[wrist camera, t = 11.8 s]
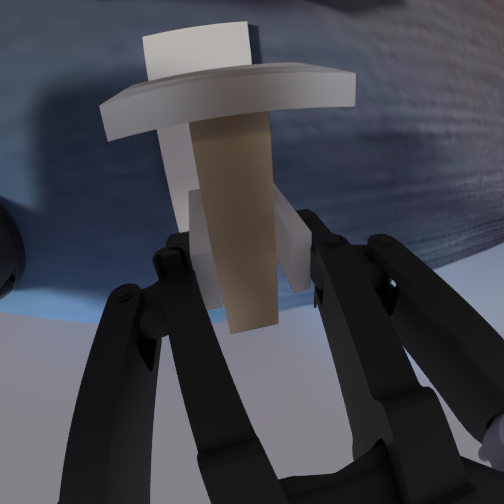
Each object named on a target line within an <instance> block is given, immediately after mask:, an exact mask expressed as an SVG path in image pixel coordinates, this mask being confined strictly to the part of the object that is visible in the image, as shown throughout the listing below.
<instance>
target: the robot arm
mask: <svg viewBox="0 0 504 504" xmlns="http://www.w3.org/2000/svg"><path fill="white" fill-rule="evenodd" d="M273 187H274V222H275V246H276V256H277V258H278V261H279V263H280V265H281V267H282V269H283V271H284V273H285V275H286V277H287V279H288V282H289V284H290V286H291V288H292V290H293V292H297V291H302V290H306V289H310V288H311V279H312V281H313V282H314V284H315V291H314V308H316V307H317V305H318V308H319V311H320V315H321V318H322V322H323V325H324V328H325V332H326V335H327V339H328V343H329V346H330V349H331V353H332V357H333V360H334V364H335V368H336V372H337V375H338V379H339V383H340V387H341V391H342V395H343V399H344V402H345V406H346V411H347V415H348V419H349V423H350V427H351V431H352V436H353V446H352V451H353V459H354V461H353V462H352V463H351V464H349V465H347V466H346V467H344V468H343V469H341V470H340V471H338V472H336V473H332V474H322V475H309V476H291V477H287V478H283V479H279V480H278V478H277V476H276V474H275V472H274V470H273V468H272V466H271V464H270V461H269V459H268V457H267V455H266V453H265V450H264V448H263V446H262V444H261V442H260V440H259V438H258V437H257V436H256V434H255V432H254V429H253V427H252V425H251V422H250V420H249V418H248V415H247V413H246V411H245V408H244V406H243V403H242V401H241V399H240V396H239V394H238V391H237V389H236V386H235V384H234V382H233V379H232V376H231V374H230V371H229V369H228V367H227V364H226V361H225V359H224V356H223V353H222V351H221V348H220V346H219V343H218V340H217V338H216V335H215V332H214V330H213V326H212V324H211V321H210V318H209V315H208V313H207V310H211V309H216V308H221V307H223V305H222V300H221V294H220V288H219V283H218V277H217V271H216V265H215V261H214V256H213V251H212V246H211V241H210V236H209V231H208V226H207V221H206V217H205V212H204V207H203V202H202V196H201V191H200V189H195V190H190V191H188V198H189V231H187V232H181V233H176V234H171V236H170V237H169V238H168V240H167V241H166V247H164V248H162V249H160V250H159V251H157V252H156V253H155V254H154V256H153V263H154V266H155V269H156V272H157V275H158V278H159V281H158V282H156V283H155V284H153V285H151V286H149V287H147V288H145V289H142V290H141V289H140V287H139V286H138V285H136V284H124V285H121V286H119V287H117V288H116V289H115V290H113V291H112V292H111V294H110V295H109V297H108V300H107V303H106V306H105V308H104V311H103V314H102V317H101V320H100V323H99V326H98V329H97V332H96V335H95V338H94V341H93V344H92V347H91V350H90V354H89V357H88V361H87V364H86V368H85V371H84V375H83V378H82V381H81V385H80V389H79V393H78V397H77V401H76V405H75V409H74V414H73V418H72V423H71V427H70V432H69V437H68V442H67V448H66V453H65V459H64V466H63V472H62V480H61V488H60V497H59V501H58V503H57V504H150V477H151V476H150V475H151V451H152V433H153V420H154V408H155V397H156V386H157V377H158V368H159V359H160V350H161V343H162V339H161V338H162V337H164V336H167V335H169V339H170V344H171V348H172V353H173V358H174V362H175V367H176V371H177V375H178V380H179V384H180V388H181V392H182V396H183V399H184V404H185V407H186V411H187V414H188V418H189V422H190V425H191V429H192V432H193V436H194V439H195V443H196V446H197V450H198V455H197V461H198V466H199V469H200V472H201V475H202V478H203V481H204V484H205V487H206V490H207V493H208V496H209V498H210V501H211V504H504V340H503V338H502V337H501V336H500V335H499V334H498V333H497V332H496V331H495V330H494V329H493V328H492V326H491V325H490V324H489V323H488V322H486V320H485V319H484V318H483V317H482V316H481V315H480V314H479V313H478V312H477V311H476V310H475V309H474V308H473V307H472V306H471V305H469V303H468V302H466V301H465V300H464V299H463V298H462V297H461V296H460V295H459V294H458V293H457V292H456V291H455V290H454V289H453V288H452V287H450V286H449V285H448V284H447V283H446V282H445V281H444V280H443V279H442V278H441V277H439V276H438V275H437V274H436V273H435V272H434V271H433V270H432V269H431V268H429V267H428V266H427V265H426V264H425V263H424V262H422V261H421V260H420V259H419V258H418V257H417V256H415V255H414V254H413V253H412V252H411V251H409V250H408V249H407V248H406V247H405V246H403V245H402V244H401V243H400V242H399V241H397V240H396V239H395V238H393V237H391V236H388V235H386V234H375V235H372V236H370V237H369V238H368V242H367V245H351V244H350V243H349V242H348V240H347V239H346V238H345V237H343V236H341V235H336V234H332V233H331V231H330V230H329V229H328V228H327V227H326V226H325V224H324V223H323V222H322V221H321V220H320V219H319V217H318V216H317V215H316V214H315V213H314V212H312V211H310V210H308V209H304V210H298V211H295V210H294V209H293V207H292V206H291V205H290V203H289V202H288V201H287V199H286V198H285V197H284V196H283V194H282V193H281V192H280V190H279V189H278V188H277V187H276V185H275V184H274V183H273ZM24 266H25V253H24V247H23V243H22V240H21V237H20V234H19V232H18V230H17V228H16V226H15V224H14V222H13V221H12V219H11V218H10V216H9V215H8V213H7V212H6V211H5V210H4V209H3V208H2V207H1V206H0V300H1V299H2V298H3V297H5V296H6V295H8V294H9V293H10V292H11V291H12V290H13V289H14V288H15V286H16V284H17V283H18V281H19V279H20V278H21V276H22V274H23V270H24ZM392 280H393V281H394V282H395V283H396V287H394V286H393V285H392V284H391V281H392ZM402 345H403V346H402ZM403 347H404V348H405V349H406V350H407V352H408V353H409V354H410V355H411V357H412V358H413V359H414V361H415V362H416V363H417V365H418V366H419V367H420V368H421V370H422V371H423V372H424V374H425V375H426V376H427V378H428V379H429V380H430V382H431V383H432V384H433V386H434V387H435V388H436V390H437V391H438V392H439V394H440V395H441V396H442V398H443V399H444V401H445V402H446V403H447V405H448V406H449V407H450V409H451V410H452V412H453V413H454V414H455V416H456V417H457V419H458V420H459V421H460V423H461V424H462V425H463V426H464V428H465V429H466V430H467V431H468V432H469V433H470V434H471V435H472V436H473V437H474V438H475V439H476V440H477V441H479V442H480V443H481V444H482V447H481V448H480V449H479V454H478V455H479V458H480V460H482V461H489V462H490V463H491V466H492V468H491V467H488V466H485V465H483V464H480V463H477V462H475V461H472V460H470V459H467V458H465V457H462V456H460V455H459V452H458V449H457V446H456V443H455V440H454V438H453V435H452V432H451V430H450V427H449V424H448V421H447V419H446V416H445V414H444V411H443V409H442V406H441V404H440V402H439V399H438V397H437V395H436V393H435V392H434V390H433V389H431V388H430V387H422V386H421V385H420V383H419V382H418V380H417V377H416V375H415V372H414V370H413V368H412V366H411V363H410V361H409V359H408V357H407V354H406V352H405V350H404V348H403Z"/></svg>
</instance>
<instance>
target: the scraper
mask: <svg viewBox="0 0 504 504" xmlns="http://www.w3.org/2000/svg"><path fill="white" fill-rule="evenodd" d="M355 86H356V73H352V72H348V71H343V70H338V69H333V68H327V67H322V66H316V65H309V64H303V63H296V62H289V63H267V64H253V65H242V66H232V67H224V68H216V69H209V70H202V71H196V72H190V73H184V74H179V75H174V76H169V77H164V78H160V79H155V80H151V81H147V82H143V83H139V84H135V85H131V86H130V87H128V88H126V89H125V90H123V91H121V92H120V93H118V94H117V95H115V96H113V97H112V98H110V99H109V100H107V101H106V102H104V103H103V104H101V105H100V106H99V107H100V111H101V116H102V120H103V124H104V128H105V132H106V136H107V140H108V142H109V141H112V140H116V139H120V138H123V137H127V136H131V135H135V134H139V133H143V132H147V131H151V130H155V129H160V128H164V127H169V126H174V125H179V124H184V123H189V129H190V135H191V141H192V146H193V152H194V158H195V164H196V169H197V175H198V180H199V186H200V191H201V196H202V202H203V207H204V212H205V217H206V221H207V226H208V231H209V236H210V241H211V246H212V251H213V256H214V261H215V265H216V271H217V275H218V280H219V285H220V289H221V294H222V298H223V303H224V307H225V311H226V316H227V320H228V324H229V329H230V333H231V334H233V333H239V332H243V331H248V330H253V329H258V328H262V327H267V326H271V325H275V324H278V288H277V257H276V246H275V222H274V187H273V168H272V150H271V133H270V118H269V111H274V110H285V109H299V108H317V107H355Z"/></svg>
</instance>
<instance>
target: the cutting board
mask: <svg viewBox="0 0 504 504" xmlns="http://www.w3.org/2000/svg"><path fill="white" fill-rule="evenodd" d="M143 45H144V53H145V60H146V67H147V74H148V81H151V80H155V79H160V78H164V77H169V76H174V75H179V74H184V73H190V72H196V71H202V70H209V69H216V68H224V67H232V66H242V65H252V60H251V51H250V43H249V34H248V25H247V21H246V22H232V23H221V24H212V25H204V26H197V27H190V28H184V29H178V30H173V31H168V32H163V33H158V34H153V35H149V36H145V37H143ZM157 133H158V138H159V144H160V149H161V154H162V159H163V163H164V168H165V173H166V178H167V182H168V187H169V191H170V196H171V200H172V204H173V209H174V213H175V217H176V221H177V225H178V229H179V233H181V232H187V231H189V198H188V191H190V190H195V189H200V186H199V180H198V175H197V169H196V164H195V158H194V152H193V146H192V141H191V135H190V129H189V123H184V124H179V125H174V126H169V127H164V128H160V129H157Z"/></svg>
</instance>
